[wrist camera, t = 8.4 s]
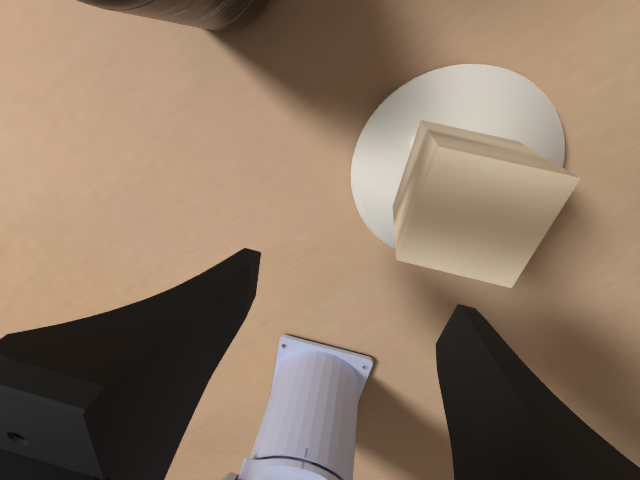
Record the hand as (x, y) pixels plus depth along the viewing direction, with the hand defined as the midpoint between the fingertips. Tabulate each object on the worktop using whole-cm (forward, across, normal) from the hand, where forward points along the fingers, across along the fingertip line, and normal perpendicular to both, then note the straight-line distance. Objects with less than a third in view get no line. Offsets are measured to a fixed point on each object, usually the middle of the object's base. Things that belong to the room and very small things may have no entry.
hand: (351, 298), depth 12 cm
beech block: (+9, -4, -3) cm, 10 cm away
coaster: (+10, -4, -3) cm, 11 cm away
